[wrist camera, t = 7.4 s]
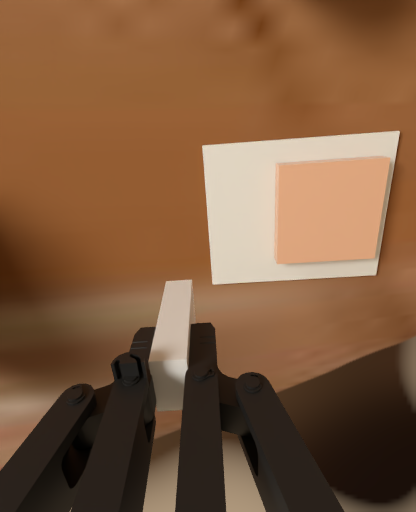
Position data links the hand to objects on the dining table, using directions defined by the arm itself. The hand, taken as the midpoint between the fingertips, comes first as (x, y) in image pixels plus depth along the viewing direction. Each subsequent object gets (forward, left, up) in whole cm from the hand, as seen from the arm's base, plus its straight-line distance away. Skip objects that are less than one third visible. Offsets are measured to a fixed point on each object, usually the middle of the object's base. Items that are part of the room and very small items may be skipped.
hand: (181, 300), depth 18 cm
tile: (+9, -4, -20) cm, 23 cm away
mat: (+11, -6, -22) cm, 25 cm away
